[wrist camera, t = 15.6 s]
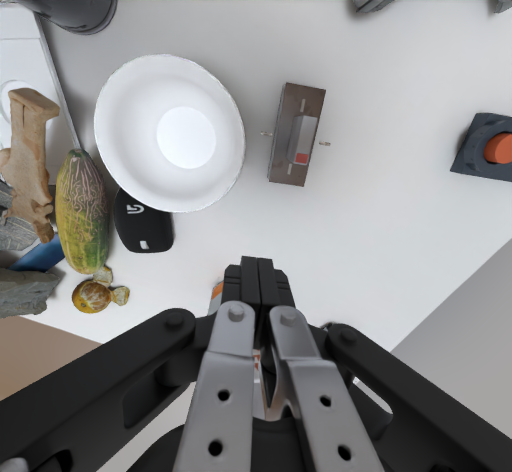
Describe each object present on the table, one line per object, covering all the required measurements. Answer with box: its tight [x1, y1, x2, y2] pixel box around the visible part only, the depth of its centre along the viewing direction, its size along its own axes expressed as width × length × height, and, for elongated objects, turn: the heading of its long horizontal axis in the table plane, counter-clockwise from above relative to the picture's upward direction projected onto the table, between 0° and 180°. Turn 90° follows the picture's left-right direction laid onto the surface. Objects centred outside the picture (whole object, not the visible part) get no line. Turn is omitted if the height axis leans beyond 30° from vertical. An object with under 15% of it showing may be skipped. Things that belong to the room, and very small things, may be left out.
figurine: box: [0, 88, 60, 244], centre depth 31 cm, size 7×4×20 cm
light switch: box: [0, 3, 81, 187], centre depth 32 cm, size 11×2×19 cm
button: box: [484, 133, 512, 164], centre depth 33 cm, size 4×4×2 cm
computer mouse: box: [114, 188, 173, 253], centre depth 37 cm, size 8×12×4 cm, turn 1°
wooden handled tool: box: [8, 234, 65, 273], centre depth 41 cm, size 24×3×5 cm
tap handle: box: [286, 116, 317, 165], centre depth 30 cm, size 5×2×6 cm, turn 171°
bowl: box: [94, 54, 245, 213], centre depth 31 cm, size 16×16×8 cm
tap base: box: [261, 83, 330, 187], centre depth 34 cm, size 12×9×3 cm
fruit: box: [72, 266, 129, 313], centre depth 43 cm, size 8×8×4 cm
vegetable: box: [55, 148, 109, 274], centre depth 35 cm, size 6×6×20 cm
